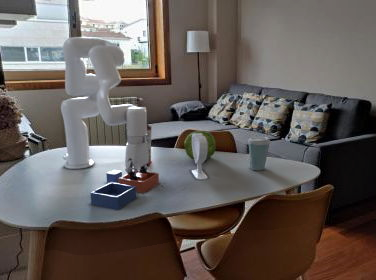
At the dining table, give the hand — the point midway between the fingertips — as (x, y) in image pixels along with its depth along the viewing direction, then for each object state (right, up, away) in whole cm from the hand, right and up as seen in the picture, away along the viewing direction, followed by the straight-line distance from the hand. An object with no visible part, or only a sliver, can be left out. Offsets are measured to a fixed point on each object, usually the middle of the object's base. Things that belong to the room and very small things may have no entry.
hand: (138, 181), depth 144 cm
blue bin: (-5, -5, -14) cm, 16 cm away
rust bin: (0, -2, 0) cm, 2 cm away
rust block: (0, -1, 0) cm, 1 cm away
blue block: (-11, -1, +4) cm, 12 cm away
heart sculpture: (+23, +1, +16) cm, 28 cm away
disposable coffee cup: (+50, +3, +27) cm, 57 cm away
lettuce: (+21, +7, +41) cm, 46 cm away
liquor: (-4, +5, +26) cm, 27 cm away
